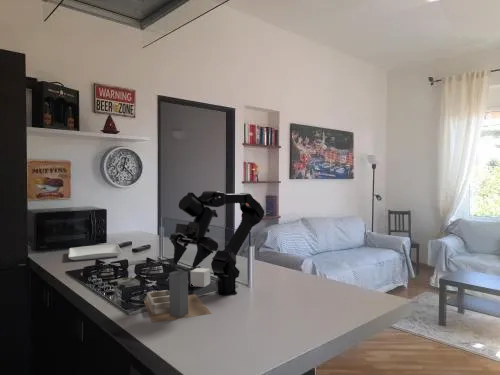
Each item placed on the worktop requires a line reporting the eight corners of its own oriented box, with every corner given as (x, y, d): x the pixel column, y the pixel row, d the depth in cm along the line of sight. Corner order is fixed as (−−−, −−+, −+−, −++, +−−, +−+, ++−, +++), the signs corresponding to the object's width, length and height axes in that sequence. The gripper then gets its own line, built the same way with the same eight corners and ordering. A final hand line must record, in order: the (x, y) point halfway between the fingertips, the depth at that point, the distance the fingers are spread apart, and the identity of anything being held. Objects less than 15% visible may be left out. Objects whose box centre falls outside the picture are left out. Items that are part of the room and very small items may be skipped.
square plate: (69, 253, 217) (69, 247, 217) (118, 249, 229) (118, 243, 229) (68, 263, 193) (67, 255, 193) (122, 258, 204) (122, 251, 204)
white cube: (204, 287, 146) (204, 272, 146) (190, 286, 148) (190, 271, 147) (210, 283, 152) (210, 268, 151) (197, 282, 153) (196, 267, 153)
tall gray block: (178, 311, 116) (177, 270, 116) (188, 313, 114) (187, 271, 114) (169, 315, 112) (169, 273, 112) (180, 317, 111) (179, 274, 110)
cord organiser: (195, 296, 133) (195, 285, 133) (211, 316, 114) (211, 302, 114) (143, 303, 126) (143, 291, 126) (152, 325, 107) (152, 311, 107)
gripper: (168, 211, 128) (148, 253, 122) (206, 213, 116) (187, 260, 110) (188, 225, 136) (171, 265, 129) (226, 229, 124) (209, 273, 118)
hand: (183, 265), depth 121 cm, fingers open, 9 cm apart
